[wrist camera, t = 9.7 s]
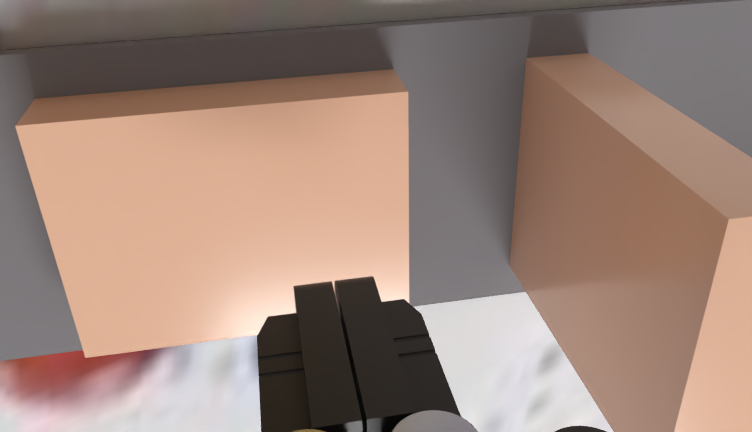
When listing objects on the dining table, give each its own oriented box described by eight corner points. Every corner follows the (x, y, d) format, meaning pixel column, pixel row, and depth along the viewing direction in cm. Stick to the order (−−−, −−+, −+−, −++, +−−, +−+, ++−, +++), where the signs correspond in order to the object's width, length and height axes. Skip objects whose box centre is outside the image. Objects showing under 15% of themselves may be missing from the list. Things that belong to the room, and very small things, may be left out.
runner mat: (-225, 66, 14) (-237, 72, 14) (884, -15, 18) (897, -11, 18) (-88, 363, 18) (-94, 373, 18) (799, 247, 22) (808, 253, 22)
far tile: (15, 125, 14) (408, 91, 15) (34, 98, 15) (393, 69, 16) (85, 357, 17) (409, 315, 18) (96, 317, 18) (396, 279, 19)
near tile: (525, 58, 17) (728, 219, 10) (588, 52, 17) (829, 207, 10) (509, 265, 20) (656, 499, 13) (562, 258, 20) (735, 485, 13)
